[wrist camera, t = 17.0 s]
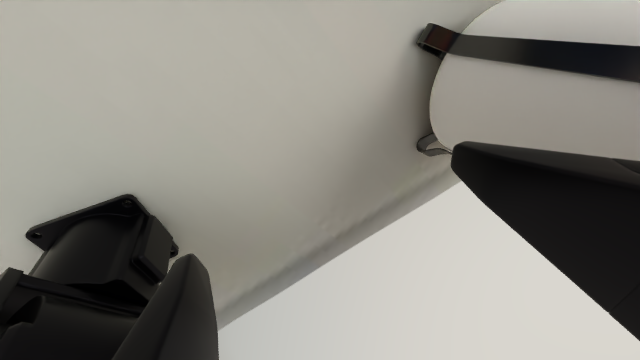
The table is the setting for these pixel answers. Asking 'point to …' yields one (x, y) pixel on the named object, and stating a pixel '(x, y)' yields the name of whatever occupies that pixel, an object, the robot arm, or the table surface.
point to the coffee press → (540, 78)
